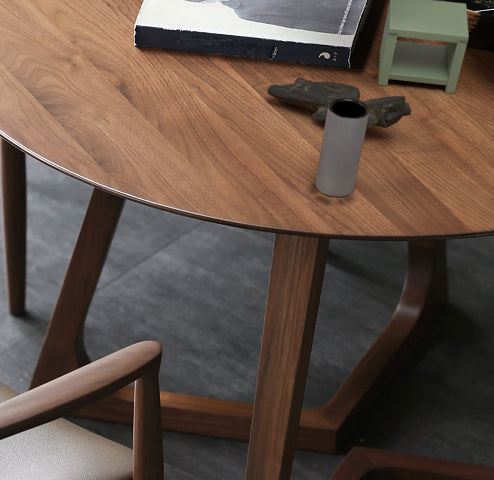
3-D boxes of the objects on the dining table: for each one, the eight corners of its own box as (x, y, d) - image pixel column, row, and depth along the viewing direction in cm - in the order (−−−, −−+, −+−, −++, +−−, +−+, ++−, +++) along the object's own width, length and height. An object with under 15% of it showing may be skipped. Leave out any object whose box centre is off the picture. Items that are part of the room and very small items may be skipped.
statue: (262, 123, 141) (401, 150, 129) (256, 86, 137) (398, 111, 126) (288, 98, 144) (426, 122, 132) (283, 61, 140) (424, 83, 129)
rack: (452, 58, 150) (466, 3, 144) (454, 93, 143) (468, 36, 137) (379, 50, 151) (390, -5, 146) (378, 84, 144) (389, 28, 138)
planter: (324, 200, 124) (338, 120, 117) (308, 178, 127) (321, 100, 120) (360, 194, 125) (376, 115, 118) (344, 173, 128) (358, 95, 121)
